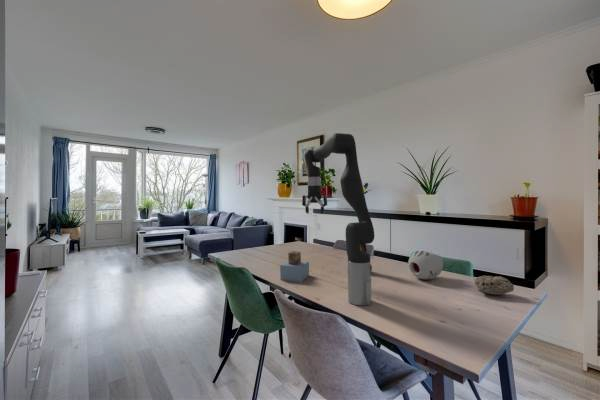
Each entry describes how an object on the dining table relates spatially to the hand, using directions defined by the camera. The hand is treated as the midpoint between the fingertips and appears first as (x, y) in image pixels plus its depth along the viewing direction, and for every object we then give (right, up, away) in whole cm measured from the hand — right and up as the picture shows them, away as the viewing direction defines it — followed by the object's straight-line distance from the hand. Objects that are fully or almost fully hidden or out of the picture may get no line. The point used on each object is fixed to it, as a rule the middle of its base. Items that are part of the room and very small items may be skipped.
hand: (314, 213), depth 156 cm
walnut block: (-11, -27, -8) cm, 30 cm away
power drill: (+25, -34, +4) cm, 42 cm away
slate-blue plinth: (-11, -35, -7) cm, 37 cm away
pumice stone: (+76, -34, -37) cm, 91 cm away
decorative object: (+59, -34, -13) cm, 69 cm away
